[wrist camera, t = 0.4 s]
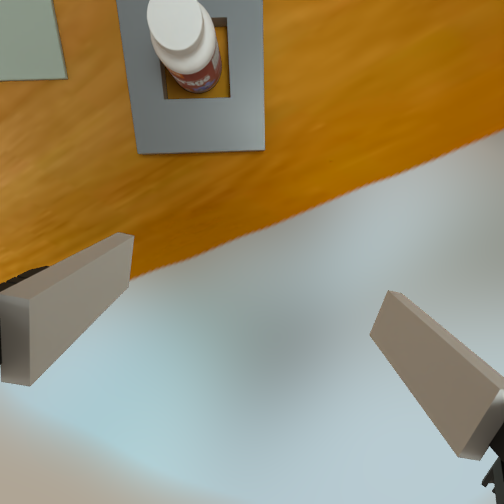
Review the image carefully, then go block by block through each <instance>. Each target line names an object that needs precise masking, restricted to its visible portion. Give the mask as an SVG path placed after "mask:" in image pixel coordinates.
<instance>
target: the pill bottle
mask: <svg viewBox="0 0 504 504" xmlns="http://www.w3.org/2000/svg"><path fill="white" fill-rule="evenodd" d="M147 21H148V26H149V29H150V35H151V41H152V45H153V47H154V50H155V52H156V54H157V55H158V57H159V59H160V60H161V61H162V63H163V64H164V65H165V67H166V68H167V69H168V70H169V72H170V73H171V74H172V76H173V77H174V78H175V80H176V81H177V82H178V84H179V85H180V86H181V87H183V88H184V89H185V90H187V91H190V92H193V93H203V92H206V91H208V90H210V89H211V88H213V87H214V86H215V84H216V83H217V81H218V80H219V77H220V74H221V68H222V63H221V57H220V52H219V48H218V43H217V38H216V33H215V29H214V25H213V22H212V19H211V17H210V15H209V14H208V12H207V10H206V9H205V8H204V7H203V6H202V5H201V4H200V3H199V2H198V1H197V0H150V1H149V4H148V8H147Z"/></svg>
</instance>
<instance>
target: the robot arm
mask: <svg viewBox="0 0 504 504" xmlns="http://www.w3.org/2000/svg"><path fill="white" fill-rule="evenodd" d="M133 242H134V236H133V235H129V234H124V233H119V232H118V233H116V234H114V235H112V236H110V237H108V238H106V239H104V240H102V241H100V242H98V243H96V244H94V245H92V246H90V247H88V248H86V249H84V250H82V251H80V252H78V253H76V254H74V255H72V256H70V257H68V258H66V259H64V260H62V261H60V262H58V263H56V264H54V265H52V266H50V267H49V266H44V267H40V268H36V269H31V270H29V271H26V272H24V273H22V274H20V275H18V276H17V277H14V278H12V279H10V280H7V282H6V283H5V282H3V283H1V284H0V365H1V382H6V383H12V384H19V385H25V386H31V385H32V384H33V383H34V382H35V381H36V380H37V379H38V378H39V377H40V376H41V375H42V374H43V373H44V372H45V371H46V370H47V369H48V368H49V367H50V366H51V365H52V364H53V362H54V361H56V360H57V359H58V358H59V357H60V356H61V355H62V354H63V353H64V352H65V351H66V349H68V348H69V347H70V346H71V344H73V342H74V341H75V340H76V339H77V338H78V337H79V336H80V335H81V334H82V333H83V332H84V331H85V330H86V329H87V328H88V327H89V326H90V325H91V324H92V323H93V322H94V321H95V320H96V319H97V318H98V317H99V316H100V315H101V314H102V313H103V312H104V311H105V310H106V309H107V308H108V307H109V306H110V305H111V304H112V303H113V302H114V301H115V300H116V299H117V298H118V297H119V296H120V295H121V294H122V293H123V292H124V291H125V290H126V289H127V288H128V287H129V279H130V270H131V261H132V251H133ZM370 336H371V338H372V339H373V340H374V342H375V343H376V345H377V346H378V347H379V349H380V350H381V351H382V353H383V354H384V355H385V357H386V358H387V360H388V361H389V363H390V364H391V365H392V367H393V368H394V369H395V371H396V372H397V374H398V375H399V376H400V378H401V379H402V380H403V382H404V383H405V384H406V386H407V387H408V389H409V390H410V392H411V393H412V394H413V396H414V397H415V398H416V400H417V401H418V403H419V404H420V405H421V407H422V408H423V409H424V411H425V412H426V414H427V415H428V416H429V418H430V419H431V420H432V422H433V423H434V425H435V426H436V427H437V429H438V430H439V432H440V433H441V434H442V436H443V437H444V438H445V440H446V441H447V443H448V444H449V445H450V447H451V448H452V449H453V451H454V452H455V453H456V455H457V456H458V457H460V458H467V459H472V460H479V461H480V460H481V458H482V457H483V455H484V454H485V452H486V451H487V449H488V447H489V446H490V447H491V448H492V449H493V451H494V452H495V453H496V454H497V455H498V456H499V457H498V458H497V460H496V461H495V463H494V464H493V466H492V467H491V469H490V470H489V472H488V473H487V475H486V476H485V477H484V479H483V481H482V485H483V486H485V487H486V486H487V485H488V483H494V484H495V487H494V489H493V490H492V492H493V493H495V494H496V503H497V504H504V377H503V376H502V375H500V374H499V373H498V372H497V371H496V370H494V369H493V368H492V367H491V366H489V365H488V364H487V363H486V362H485V361H483V360H482V359H481V358H480V357H479V356H477V355H476V354H475V353H474V352H472V351H471V350H470V349H469V348H468V347H466V346H465V345H464V344H463V343H461V342H460V341H459V340H458V339H457V338H455V337H454V336H453V335H452V334H450V333H449V332H448V331H447V330H446V329H444V328H443V327H442V326H441V325H440V324H438V323H437V322H436V321H435V320H433V319H432V318H431V317H430V316H429V315H427V314H426V313H425V312H424V311H423V310H421V309H420V308H419V307H418V306H416V305H415V304H414V303H413V302H412V301H410V300H409V299H408V298H407V297H405V296H404V295H403V294H402V293H398V292H393V291H389V290H388V292H387V294H386V296H385V299H384V301H383V304H382V306H381V309H380V311H379V313H378V316H377V318H376V320H375V323H374V325H373V328H372V330H371V333H370Z"/></svg>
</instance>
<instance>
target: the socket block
mask: <svg viewBox="0 0 504 504" xmlns="http://www.w3.org/2000/svg"><path fill="white" fill-rule="evenodd" d="M149 1H150V0H116V2H117V9H118V17H119V24H120V31H121V38H122V45H123V52H124V59H125V66H126V73H127V81H128V88H129V95H130V102H131V109H132V116H133V123H134V130H135V137H136V144H137V152H138V154H143V155H147V154H179V153H212V152H244V151H264V150H265V127H264V62H263V0H197V1H198V2H199V3H200V4H201V5H202V6H203V7H204V8H205V9H206V10H207V12H208V14H209V15H210V17H211V19H212V22H213V25H214V27H220V26H227V29H228V51H229V72H230V94H231V98H197V99H168V94H167V85H166V75H165V66H164V64H163V63H162V61H161V60H160V59H159V57H158V55H157V54H156V52H155V50H154V47H153V45H152V41H151V35H150V29H149V26H148V21H147V8H148V4H149Z"/></svg>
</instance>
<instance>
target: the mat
mask: <svg viewBox="0 0 504 504" xmlns="http://www.w3.org/2000/svg"><path fill="white" fill-rule="evenodd" d="M58 79H68V76H67V71H66V66H65V61H64V56H63V51H62V45H61V40H60V35H59V30H58V25H57V20H56V15H55V10H54V4H53V0H0V81H24V80H58Z"/></svg>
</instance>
